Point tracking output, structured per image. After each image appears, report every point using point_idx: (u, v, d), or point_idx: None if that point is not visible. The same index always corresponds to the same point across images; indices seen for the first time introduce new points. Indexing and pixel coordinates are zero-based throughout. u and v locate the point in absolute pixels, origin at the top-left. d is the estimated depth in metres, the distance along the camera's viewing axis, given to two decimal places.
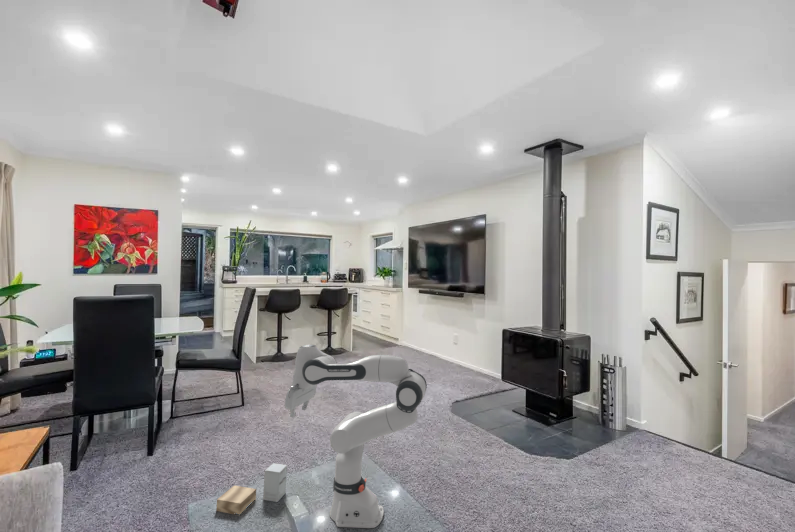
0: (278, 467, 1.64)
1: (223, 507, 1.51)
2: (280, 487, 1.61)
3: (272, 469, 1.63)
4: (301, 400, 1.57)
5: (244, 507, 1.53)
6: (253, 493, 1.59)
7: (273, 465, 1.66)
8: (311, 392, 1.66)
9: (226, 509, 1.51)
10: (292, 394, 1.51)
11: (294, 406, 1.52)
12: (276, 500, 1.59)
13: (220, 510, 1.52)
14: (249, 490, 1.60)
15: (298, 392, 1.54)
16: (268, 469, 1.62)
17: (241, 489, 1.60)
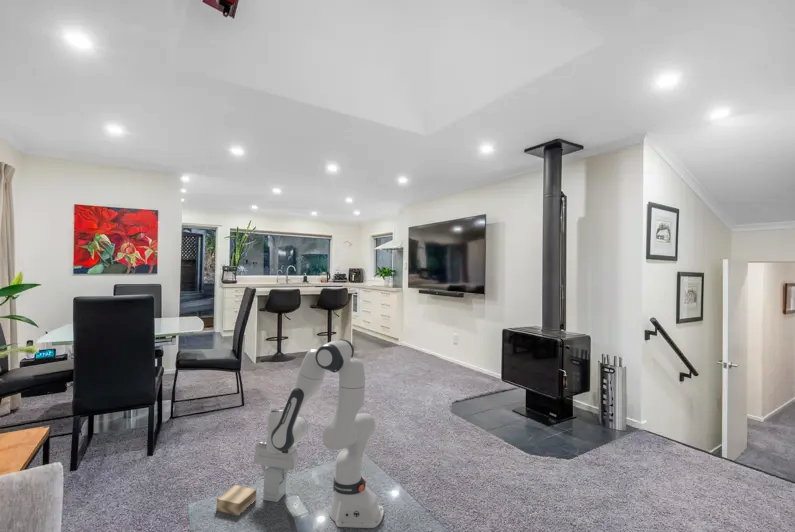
0: None
1: (223, 507, 1.51)
2: (280, 487, 1.61)
3: (272, 469, 1.63)
4: (268, 462, 1.63)
5: (243, 507, 1.52)
6: (253, 493, 1.58)
7: None
8: (286, 462, 1.61)
9: (226, 509, 1.51)
10: None
11: (257, 462, 1.64)
12: (276, 500, 1.59)
13: (220, 510, 1.52)
14: (249, 490, 1.59)
15: (262, 450, 1.64)
16: (268, 469, 1.62)
17: (241, 489, 1.60)
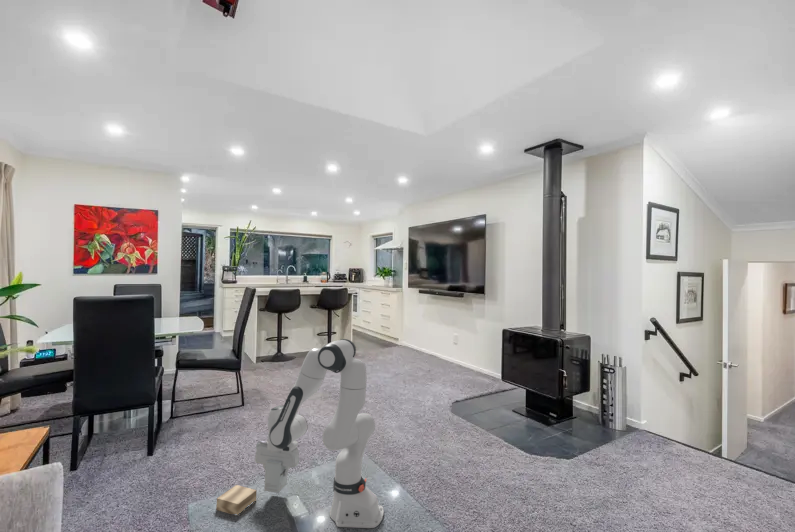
0: None
1: (222, 507, 1.52)
2: (281, 479, 1.61)
3: (272, 460, 1.63)
4: None
5: (242, 508, 1.52)
6: (253, 494, 1.58)
7: None
8: (287, 460, 1.61)
9: (225, 509, 1.51)
10: None
11: (259, 461, 1.64)
12: (277, 491, 1.59)
13: (219, 509, 1.52)
14: (249, 490, 1.59)
15: (263, 449, 1.64)
16: (269, 460, 1.62)
17: (241, 489, 1.60)
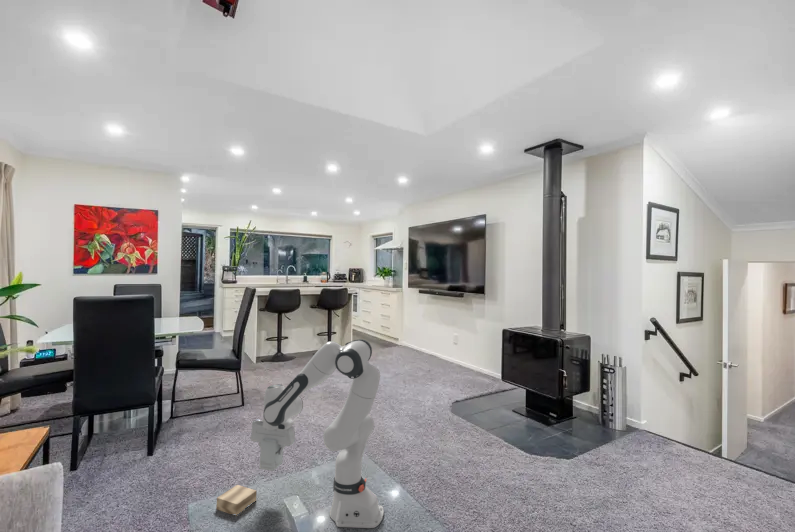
0: None
1: (222, 506, 1.52)
2: (276, 457, 1.61)
3: None
4: (265, 438, 1.62)
5: (242, 508, 1.52)
6: (253, 494, 1.58)
7: None
8: (282, 438, 1.61)
9: (225, 509, 1.51)
10: None
11: (254, 439, 1.64)
12: (272, 469, 1.59)
13: (219, 509, 1.52)
14: (249, 491, 1.59)
15: (258, 427, 1.63)
16: (264, 439, 1.62)
17: (242, 489, 1.60)
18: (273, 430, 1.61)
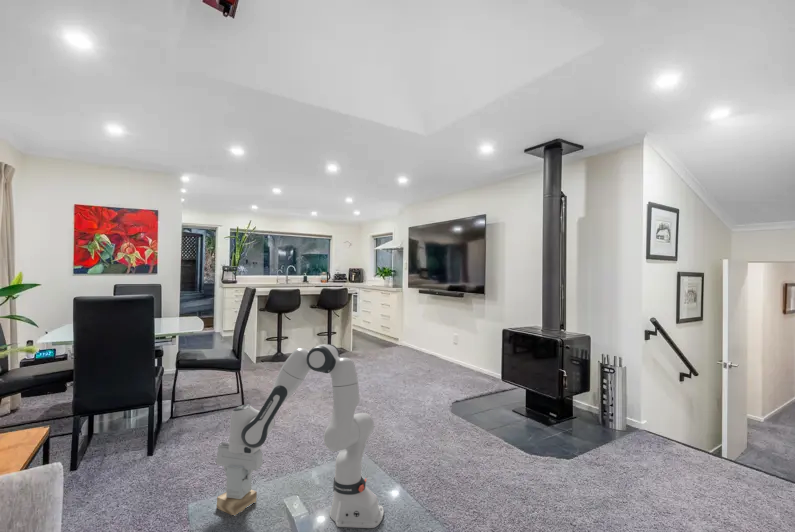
0: None
1: (222, 506, 1.52)
2: (243, 484, 1.54)
3: (234, 465, 1.56)
4: (231, 462, 1.56)
5: (240, 509, 1.51)
6: (253, 495, 1.57)
7: None
8: (249, 462, 1.54)
9: (224, 508, 1.52)
10: None
11: (220, 463, 1.57)
12: (239, 497, 1.52)
13: (219, 508, 1.53)
14: (250, 491, 1.58)
15: (224, 451, 1.57)
16: (231, 465, 1.55)
17: None
18: (239, 454, 1.54)
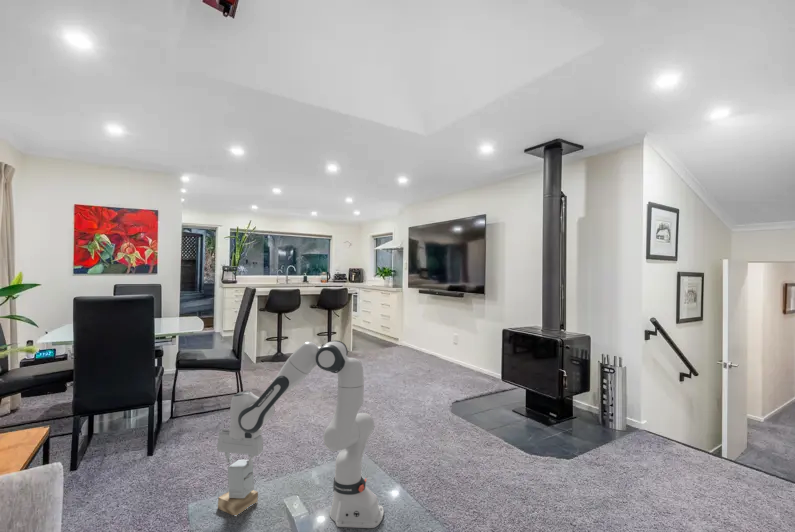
0: (242, 462, 1.57)
1: (223, 506, 1.52)
2: (245, 483, 1.54)
3: (235, 464, 1.56)
4: (232, 448, 1.56)
5: (242, 509, 1.51)
6: (254, 496, 1.57)
7: (238, 461, 1.59)
8: (249, 447, 1.54)
9: (225, 509, 1.51)
10: None
11: (221, 449, 1.57)
12: (242, 496, 1.52)
13: (220, 509, 1.53)
14: (251, 492, 1.58)
15: (225, 437, 1.57)
16: (231, 465, 1.55)
17: None
18: (240, 439, 1.55)
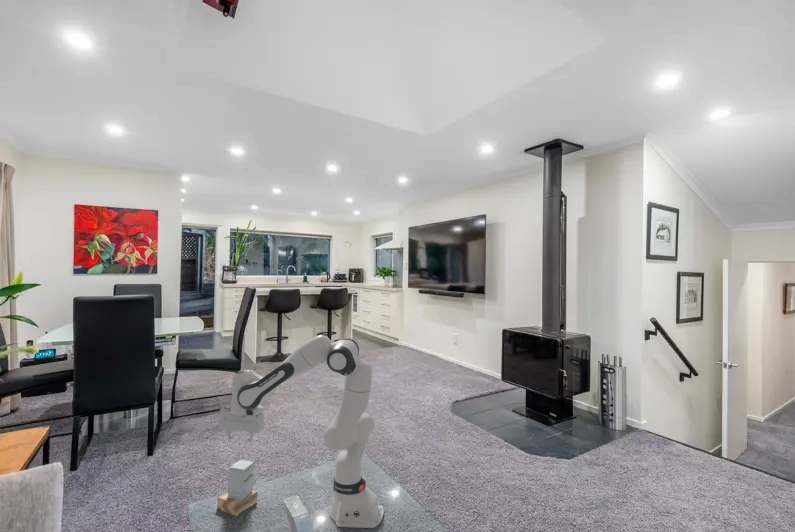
0: (243, 464, 1.57)
1: (223, 506, 1.52)
2: (245, 485, 1.53)
3: (237, 465, 1.55)
4: (233, 425, 1.57)
5: (241, 509, 1.51)
6: (253, 495, 1.57)
7: (239, 462, 1.58)
8: (251, 424, 1.55)
9: (225, 509, 1.51)
10: None
11: (222, 426, 1.58)
12: (240, 498, 1.52)
13: (220, 508, 1.53)
14: None
15: (226, 414, 1.58)
16: (233, 466, 1.55)
17: None
18: (241, 416, 1.55)
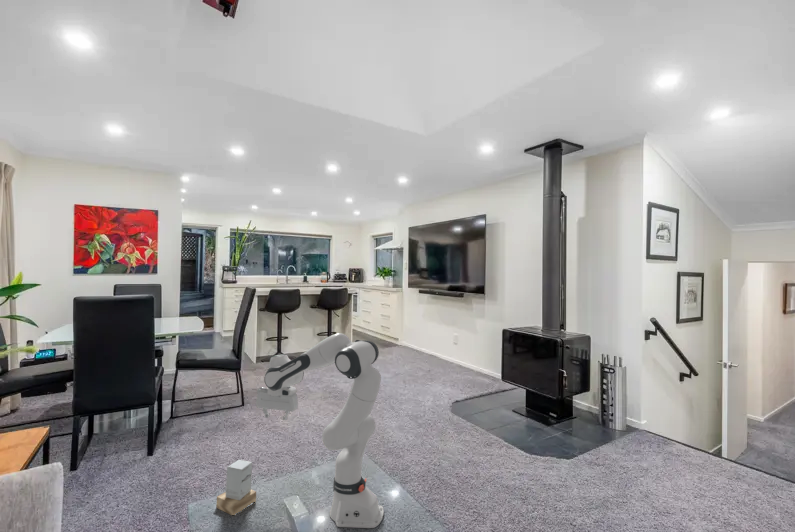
0: (242, 463, 1.57)
1: (221, 506, 1.53)
2: (243, 485, 1.54)
3: (235, 465, 1.56)
4: (270, 405, 1.72)
5: (240, 509, 1.51)
6: (252, 495, 1.57)
7: (238, 462, 1.59)
8: (286, 404, 1.70)
9: (223, 508, 1.52)
10: None
11: (259, 406, 1.73)
12: (238, 498, 1.52)
13: (219, 508, 1.53)
14: None
15: (263, 394, 1.73)
16: (231, 466, 1.55)
17: None
18: (277, 396, 1.71)
